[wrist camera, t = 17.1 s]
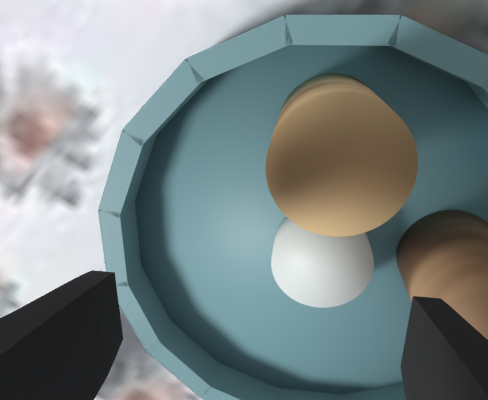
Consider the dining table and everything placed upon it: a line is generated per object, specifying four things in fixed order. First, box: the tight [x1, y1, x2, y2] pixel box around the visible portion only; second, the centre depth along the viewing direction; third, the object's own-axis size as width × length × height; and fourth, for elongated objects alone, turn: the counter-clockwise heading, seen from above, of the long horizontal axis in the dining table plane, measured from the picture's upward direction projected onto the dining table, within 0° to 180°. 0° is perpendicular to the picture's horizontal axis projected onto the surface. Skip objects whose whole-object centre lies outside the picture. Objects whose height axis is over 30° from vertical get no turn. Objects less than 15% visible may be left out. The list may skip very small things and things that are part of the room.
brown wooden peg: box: [396, 210, 488, 340], centre depth 17 cm, size 4×4×6 cm
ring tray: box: [98, 15, 488, 400], centre depth 20 cm, size 20×20×2 cm
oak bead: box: [266, 73, 418, 237], centre depth 15 cm, size 4×4×6 cm
